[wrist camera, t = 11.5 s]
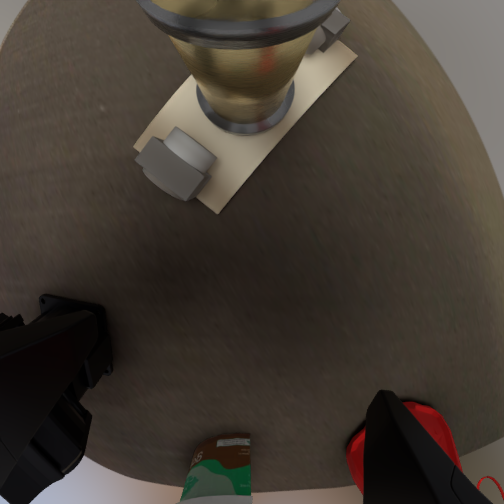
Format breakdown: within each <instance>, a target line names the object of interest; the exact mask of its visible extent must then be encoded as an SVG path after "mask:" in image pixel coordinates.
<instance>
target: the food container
mask: <svg viewBox="0 0 504 504" xmlns="http://www.w3.org/2000/svg"><path fill="white" fill-rule="evenodd" d="M176 504H252V496H251V465H250V434H249V433H232V434H221V435H218V436H215V437H211V438H208V439H206V440H205V441H203V442H202V443H200V444H199V445H198V446H197V448H196V449H195V452H194V455H193V458H192V462H191V465H190V469H189V472H188V476H187V479H186V482H185V486H184V489H183V493H182V496H181V499H180V502H179V503H176Z"/></svg>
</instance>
